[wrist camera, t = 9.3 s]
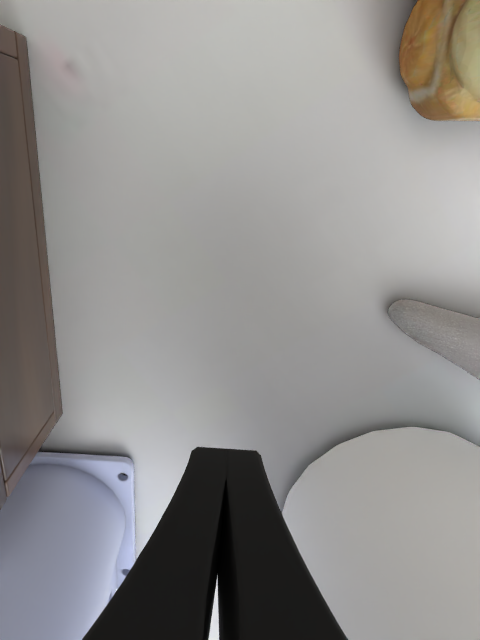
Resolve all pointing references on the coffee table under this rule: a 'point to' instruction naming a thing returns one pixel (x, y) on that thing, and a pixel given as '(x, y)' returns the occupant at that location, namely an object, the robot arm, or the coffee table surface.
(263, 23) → the coffee table surface
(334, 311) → the coffee table surface
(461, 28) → the ornament
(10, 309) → the brown wooden box
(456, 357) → the long tapered cone
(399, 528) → the can
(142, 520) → the coffee table surface
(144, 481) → the coffee table surface
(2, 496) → the brown rectangular panel
